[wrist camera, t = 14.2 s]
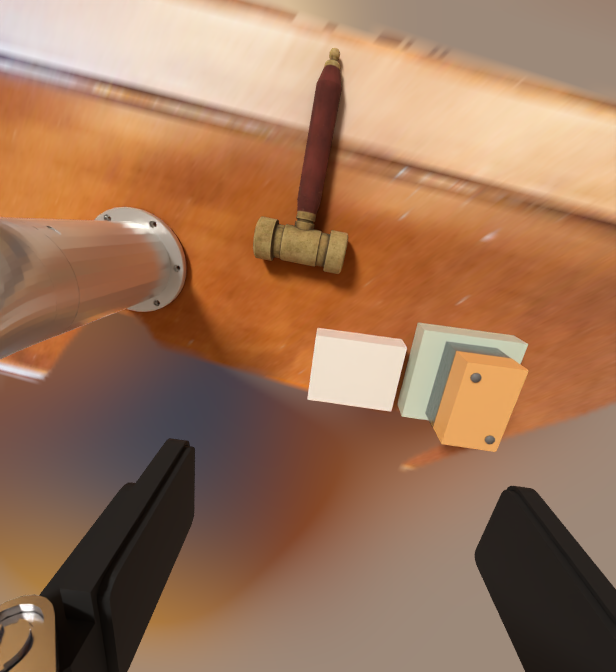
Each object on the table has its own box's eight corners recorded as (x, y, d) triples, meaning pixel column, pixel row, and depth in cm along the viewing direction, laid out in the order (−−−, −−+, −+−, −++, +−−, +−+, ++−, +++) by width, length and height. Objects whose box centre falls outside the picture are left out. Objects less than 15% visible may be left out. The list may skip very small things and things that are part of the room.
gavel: (281, 22, 28) (390, 43, 28) (288, 53, 32) (382, 71, 32) (250, 258, 33) (340, 276, 33) (259, 257, 38) (339, 272, 38)
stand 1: (308, 388, 43) (307, 399, 40) (317, 327, 40) (316, 335, 37) (387, 399, 43) (391, 411, 40) (401, 339, 40) (407, 347, 37)
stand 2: (397, 404, 43) (401, 416, 40) (417, 322, 39) (424, 330, 36) (483, 416, 43) (494, 429, 40) (513, 335, 38) (528, 344, 36)
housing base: (446, 341, 36) (455, 350, 33) (497, 348, 36) (511, 358, 33) (425, 413, 40) (432, 427, 37) (472, 419, 39) (482, 434, 37)
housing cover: (456, 350, 33) (468, 363, 30) (512, 358, 33) (530, 371, 30) (432, 427, 37) (441, 445, 34) (483, 434, 37) (497, 453, 34)
